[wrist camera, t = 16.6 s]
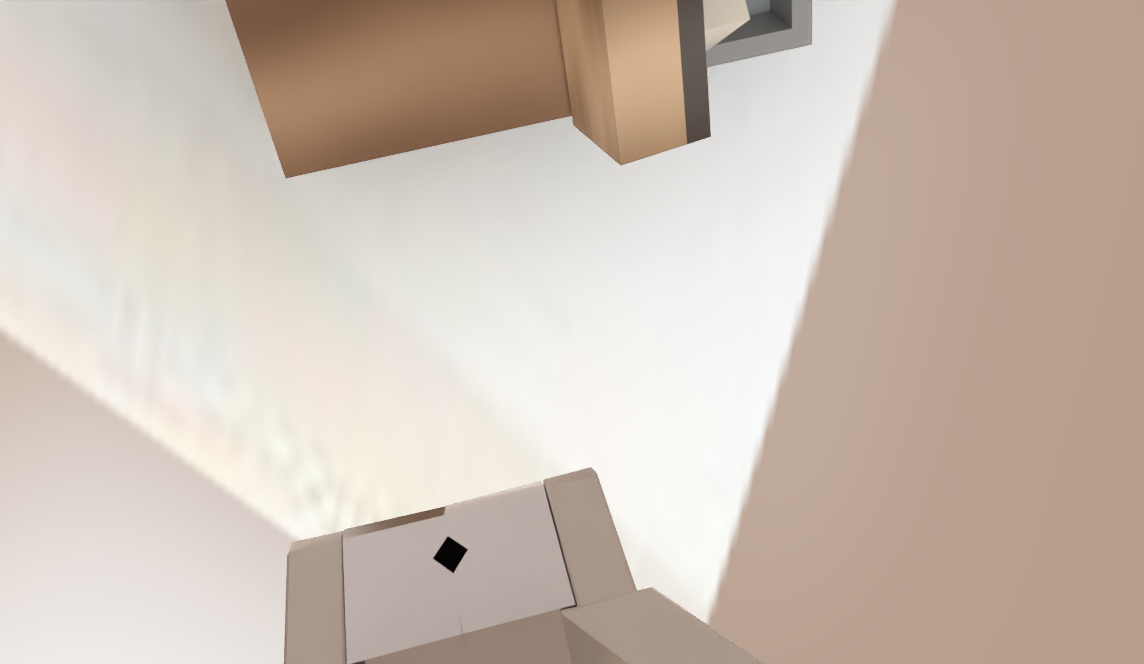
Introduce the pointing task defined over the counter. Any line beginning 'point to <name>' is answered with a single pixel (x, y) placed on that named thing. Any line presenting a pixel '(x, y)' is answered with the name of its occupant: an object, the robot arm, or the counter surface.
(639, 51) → the tan wooden bar
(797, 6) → the tray
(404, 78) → the board
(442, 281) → the counter surface
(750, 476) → the counter surface
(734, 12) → the tile
